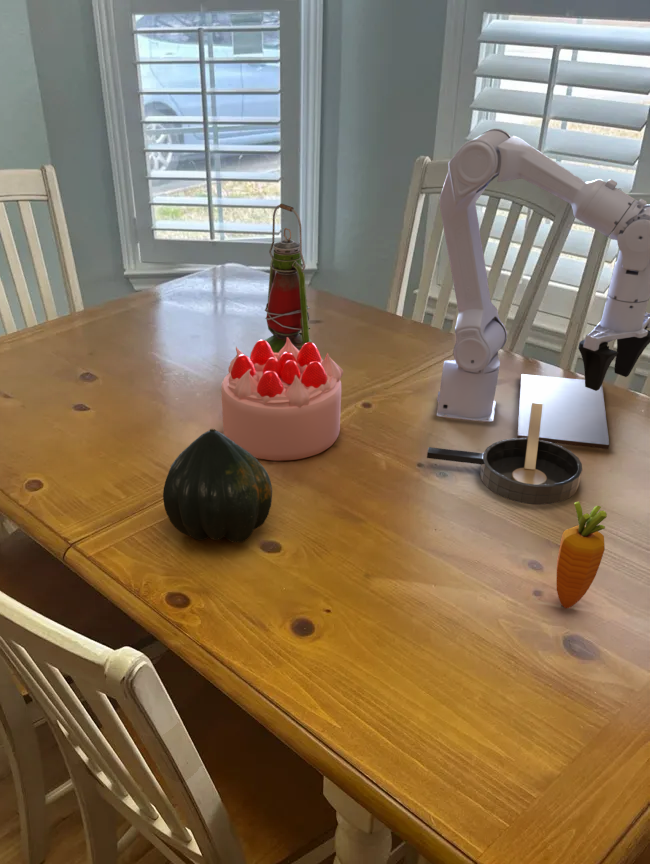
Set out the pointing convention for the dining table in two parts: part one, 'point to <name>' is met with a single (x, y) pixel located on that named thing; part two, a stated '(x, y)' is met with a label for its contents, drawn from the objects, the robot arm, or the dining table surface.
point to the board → (564, 411)
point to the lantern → (287, 292)
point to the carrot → (579, 556)
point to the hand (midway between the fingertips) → (606, 381)
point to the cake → (282, 401)
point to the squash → (217, 490)
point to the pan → (550, 460)
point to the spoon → (531, 451)
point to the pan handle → (455, 455)
